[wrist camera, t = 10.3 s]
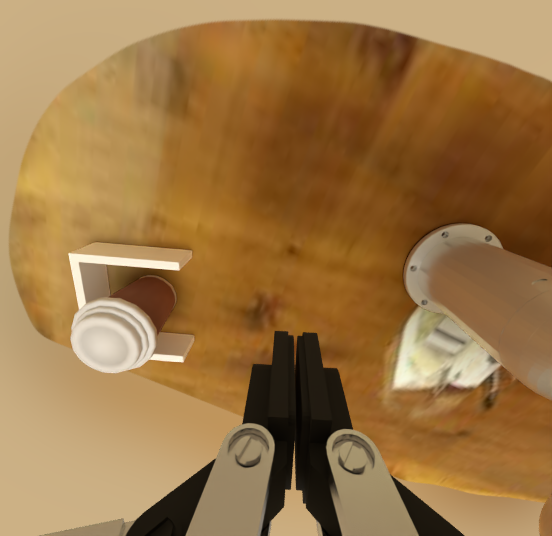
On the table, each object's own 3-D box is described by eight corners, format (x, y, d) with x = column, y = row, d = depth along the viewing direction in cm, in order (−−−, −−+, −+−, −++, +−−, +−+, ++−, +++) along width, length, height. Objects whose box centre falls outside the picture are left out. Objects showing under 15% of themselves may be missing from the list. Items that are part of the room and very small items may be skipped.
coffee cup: (150, 332, 42) (101, 393, 30) (109, 284, 39) (39, 332, 28) (198, 306, 40) (165, 361, 29) (159, 254, 37) (107, 292, 26)
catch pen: (192, 250, 37) (179, 262, 32) (194, 340, 42) (183, 362, 37) (95, 242, 37) (68, 253, 32) (109, 333, 42) (87, 354, 37)
